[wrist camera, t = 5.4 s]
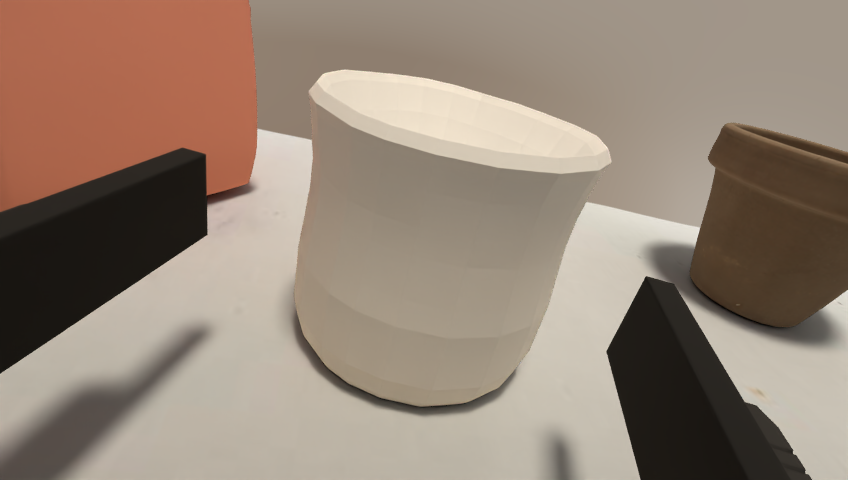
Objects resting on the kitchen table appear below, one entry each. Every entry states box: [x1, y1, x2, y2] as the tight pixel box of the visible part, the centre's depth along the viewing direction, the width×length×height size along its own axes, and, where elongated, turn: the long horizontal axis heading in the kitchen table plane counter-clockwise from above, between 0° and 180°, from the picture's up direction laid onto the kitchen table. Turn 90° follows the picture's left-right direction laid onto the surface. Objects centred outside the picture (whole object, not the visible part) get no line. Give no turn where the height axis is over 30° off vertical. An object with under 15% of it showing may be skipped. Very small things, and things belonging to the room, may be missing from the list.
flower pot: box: [690, 123, 848, 327], centre depth 27 cm, size 12×11×10 cm
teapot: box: [0, 0, 257, 212], centre depth 24 cm, size 20×22×14 cm
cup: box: [294, 70, 612, 407], centre depth 17 cm, size 10×10×10 cm
